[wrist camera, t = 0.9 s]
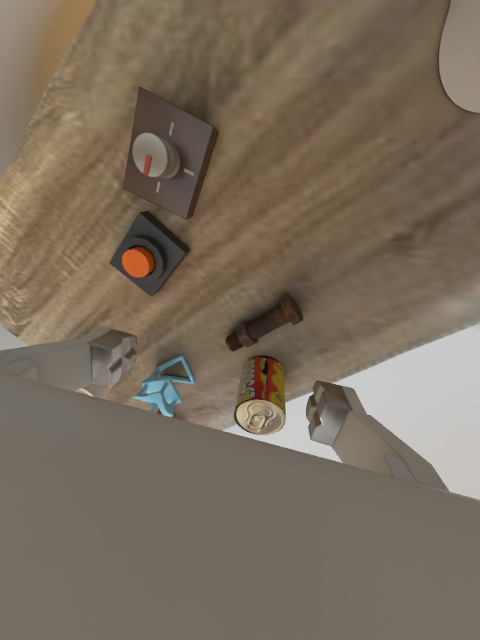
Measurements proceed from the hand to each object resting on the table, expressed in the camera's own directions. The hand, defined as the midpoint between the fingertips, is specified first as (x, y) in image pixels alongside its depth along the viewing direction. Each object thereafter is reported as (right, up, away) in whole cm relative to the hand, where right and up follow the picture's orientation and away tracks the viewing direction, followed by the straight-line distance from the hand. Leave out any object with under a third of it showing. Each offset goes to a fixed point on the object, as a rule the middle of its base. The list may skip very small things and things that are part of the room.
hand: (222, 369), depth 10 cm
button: (-15, +12, +28) cm, 34 cm away
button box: (-15, +14, +32) cm, 37 cm away
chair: (-15, -9, +45) cm, 48 cm away
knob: (-9, +24, +22) cm, 34 cm away
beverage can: (+6, -9, +41) cm, 43 cm away
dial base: (-9, +25, +24) cm, 36 cm away
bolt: (+5, +2, +35) cm, 36 cm away
